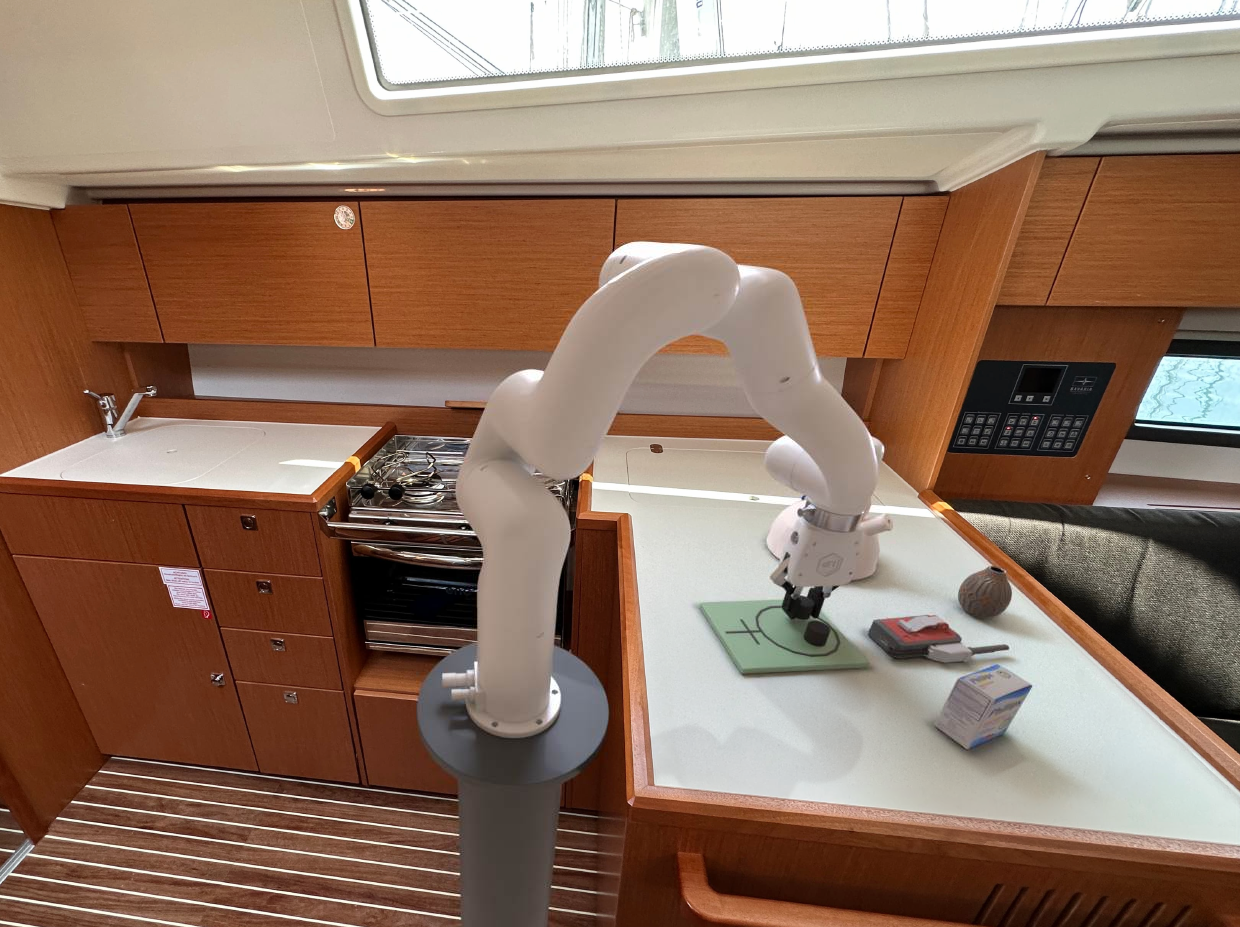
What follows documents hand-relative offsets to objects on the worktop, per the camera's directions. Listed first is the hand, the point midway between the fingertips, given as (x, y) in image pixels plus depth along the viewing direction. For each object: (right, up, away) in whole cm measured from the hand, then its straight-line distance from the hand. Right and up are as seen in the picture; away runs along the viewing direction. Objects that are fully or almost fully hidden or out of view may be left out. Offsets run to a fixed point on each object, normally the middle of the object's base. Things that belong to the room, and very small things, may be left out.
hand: (799, 612), depth 91 cm
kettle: (+15, +8, +22) cm, 28 cm away
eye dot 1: (0, 0, 0) cm, 0 cm away
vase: (+34, -1, +6) cm, 35 cm away
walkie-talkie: (+20, -5, -2) cm, 21 cm away
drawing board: (-4, -3, -2) cm, 6 cm away
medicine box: (+14, -12, -17) cm, 25 cm away
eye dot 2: (0, -4, -4) cm, 5 cm away
